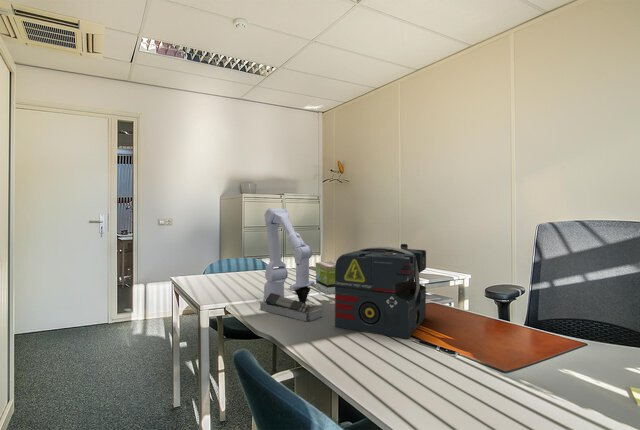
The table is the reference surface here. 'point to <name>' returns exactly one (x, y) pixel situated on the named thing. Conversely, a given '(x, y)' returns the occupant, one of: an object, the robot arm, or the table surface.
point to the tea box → (325, 277)
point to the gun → (286, 302)
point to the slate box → (291, 312)
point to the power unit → (380, 291)
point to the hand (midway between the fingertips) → (302, 304)
